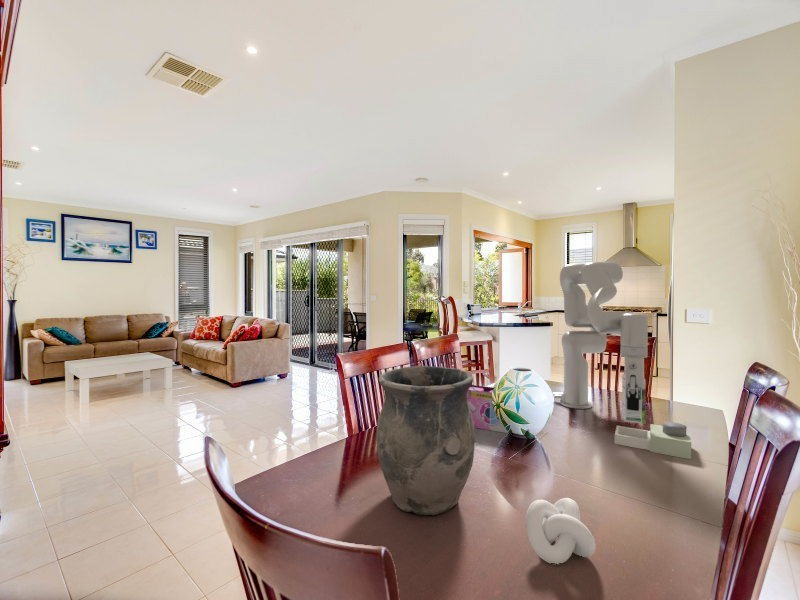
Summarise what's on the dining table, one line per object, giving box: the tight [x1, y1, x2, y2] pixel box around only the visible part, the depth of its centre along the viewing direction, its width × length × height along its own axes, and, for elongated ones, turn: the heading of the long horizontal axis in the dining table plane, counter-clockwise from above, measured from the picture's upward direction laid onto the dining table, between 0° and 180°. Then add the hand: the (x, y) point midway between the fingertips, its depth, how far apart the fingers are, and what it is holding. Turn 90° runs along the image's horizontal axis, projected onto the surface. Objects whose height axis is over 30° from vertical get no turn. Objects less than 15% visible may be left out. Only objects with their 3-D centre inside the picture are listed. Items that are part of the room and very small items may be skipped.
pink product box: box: [467, 384, 509, 434], centre depth 140 cm, size 24×8×14 cm, turn 61°
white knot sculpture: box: [525, 497, 597, 565], centre depth 74 cm, size 11×12×9 cm
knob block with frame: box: [614, 421, 692, 460], centre depth 124 cm, size 20×12×8 cm, turn 57°
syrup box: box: [621, 373, 646, 425], centre depth 126 cm, size 6×6×14 cm
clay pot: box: [375, 365, 476, 516], centre depth 92 cm, size 22×23×30 cm
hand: (633, 406), depth 126 cm, fingers closed on syrup box, 6 cm apart
